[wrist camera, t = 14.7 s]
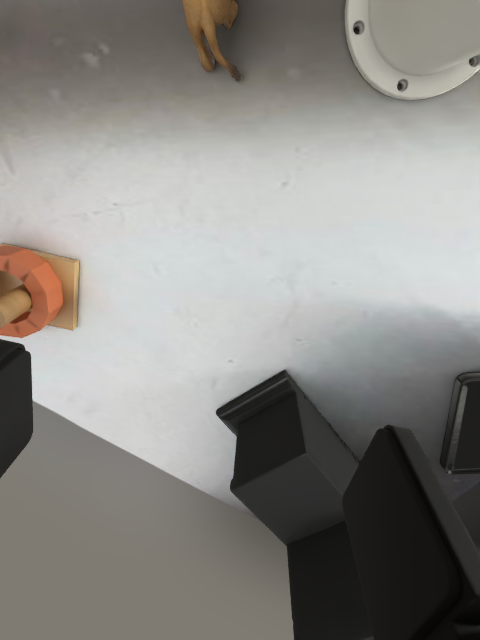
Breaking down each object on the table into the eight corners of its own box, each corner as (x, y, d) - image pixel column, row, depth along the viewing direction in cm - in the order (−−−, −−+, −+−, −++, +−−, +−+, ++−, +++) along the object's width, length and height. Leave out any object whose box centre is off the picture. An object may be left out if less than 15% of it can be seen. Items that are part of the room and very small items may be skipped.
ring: (-29, 241, 36) (-52, 248, 33) (58, 252, 36) (42, 260, 33) (-13, 319, 39) (-33, 331, 36) (66, 329, 39) (52, 342, 37)
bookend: (214, 409, 44) (176, 640, 23) (285, 367, 41) (318, 589, 20) (312, 513, 52) (352, 761, 30) (379, 483, 49) (475, 737, 27)
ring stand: (2, 242, 36) (-61, 264, 29) (79, 260, 37) (36, 285, 30) (6, 311, 40) (-49, 345, 33) (77, 326, 40) (37, 364, 33)
